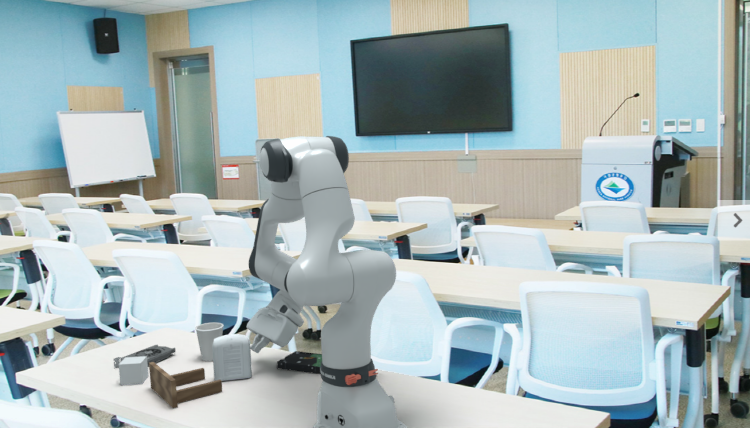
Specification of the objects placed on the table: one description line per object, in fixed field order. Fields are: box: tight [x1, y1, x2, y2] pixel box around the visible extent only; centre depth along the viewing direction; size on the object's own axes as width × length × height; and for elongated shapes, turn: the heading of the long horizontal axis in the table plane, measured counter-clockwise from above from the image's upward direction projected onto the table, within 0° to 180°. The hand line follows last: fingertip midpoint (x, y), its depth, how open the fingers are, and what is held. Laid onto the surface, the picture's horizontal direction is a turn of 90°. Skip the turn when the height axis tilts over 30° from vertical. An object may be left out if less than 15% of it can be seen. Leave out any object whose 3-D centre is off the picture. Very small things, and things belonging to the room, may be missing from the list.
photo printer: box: [212, 333, 253, 382], centre depth 183 cm, size 10×4×12 cm, turn 103°
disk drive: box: [276, 350, 322, 375], centre depth 192 cm, size 10×3×15 cm
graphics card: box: [113, 344, 176, 369], centre depth 201 cm, size 17×4×12 cm
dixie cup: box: [195, 322, 225, 362], centre depth 202 cm, size 8×8×10 cm
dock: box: [148, 362, 223, 409], centre depth 175 cm, size 18×14×7 cm
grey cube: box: [118, 356, 149, 386], centre depth 185 cm, size 6×6×6 cm
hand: (253, 350), depth 187 cm, fingers closed
